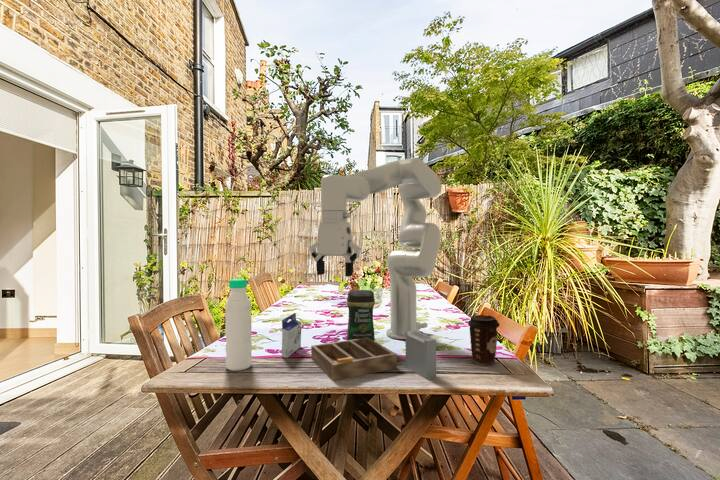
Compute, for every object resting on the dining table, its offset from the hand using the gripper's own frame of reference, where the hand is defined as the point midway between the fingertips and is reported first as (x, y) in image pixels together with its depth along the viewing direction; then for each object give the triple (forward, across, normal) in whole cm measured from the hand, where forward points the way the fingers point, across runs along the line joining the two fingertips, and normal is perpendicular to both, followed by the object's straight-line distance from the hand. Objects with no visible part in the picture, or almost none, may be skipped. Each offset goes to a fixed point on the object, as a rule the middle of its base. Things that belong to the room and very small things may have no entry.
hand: (334, 275), depth 107 cm
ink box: (+26, +16, -1) cm, 31 cm away
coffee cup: (+26, -40, -18) cm, 51 cm away
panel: (+26, -25, -2) cm, 36 cm away
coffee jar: (+26, 0, -17) cm, 31 cm away
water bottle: (+26, +22, +17) cm, 38 cm away
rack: (+25, -6, 0) cm, 26 cm away
